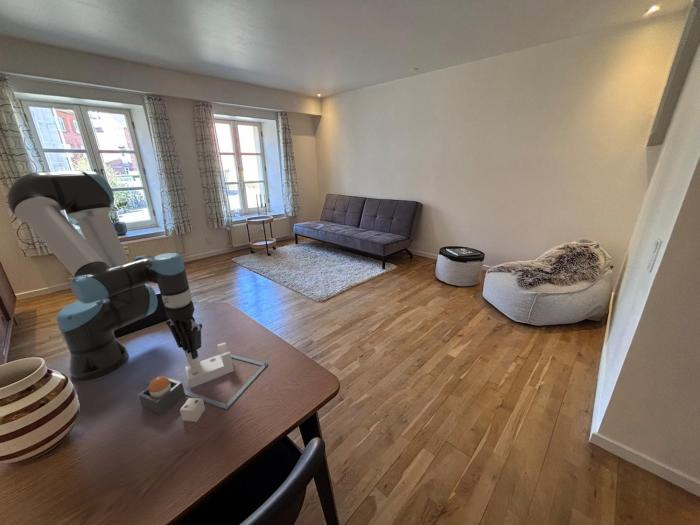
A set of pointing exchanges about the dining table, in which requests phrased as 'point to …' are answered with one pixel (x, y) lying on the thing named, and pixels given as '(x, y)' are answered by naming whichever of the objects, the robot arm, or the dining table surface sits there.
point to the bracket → (210, 367)
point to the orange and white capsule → (159, 386)
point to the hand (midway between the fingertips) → (194, 365)
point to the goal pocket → (226, 406)
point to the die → (192, 409)
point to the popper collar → (162, 398)
